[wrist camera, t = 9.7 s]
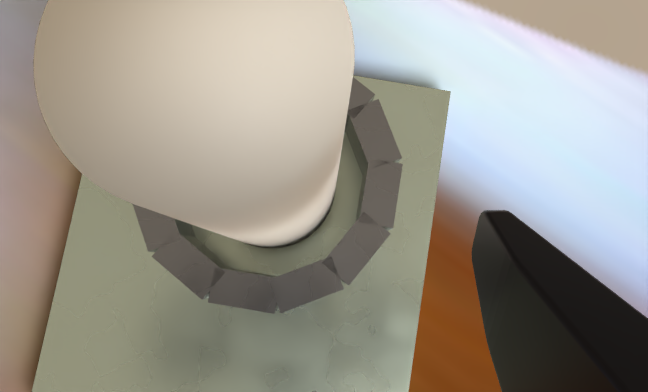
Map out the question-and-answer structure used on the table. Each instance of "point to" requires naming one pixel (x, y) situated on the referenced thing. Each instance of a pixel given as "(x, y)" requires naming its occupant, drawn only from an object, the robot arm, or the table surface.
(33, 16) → the table surface
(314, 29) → the post
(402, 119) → the grey ring base plate
